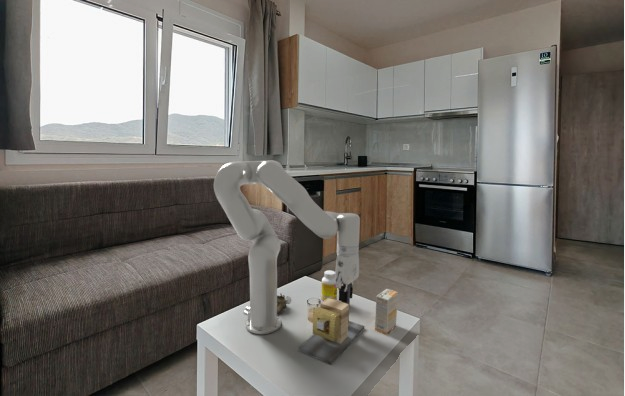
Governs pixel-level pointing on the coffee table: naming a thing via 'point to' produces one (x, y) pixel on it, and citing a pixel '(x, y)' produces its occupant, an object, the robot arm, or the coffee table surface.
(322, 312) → the yellow square frame
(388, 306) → the supplement box
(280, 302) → the eagle figurine
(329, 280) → the supplement bottle
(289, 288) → the coffee table surface
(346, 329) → the block
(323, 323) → the crank handle
